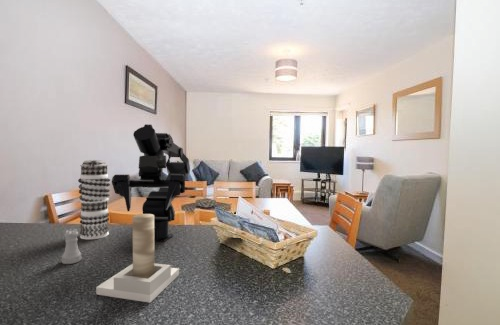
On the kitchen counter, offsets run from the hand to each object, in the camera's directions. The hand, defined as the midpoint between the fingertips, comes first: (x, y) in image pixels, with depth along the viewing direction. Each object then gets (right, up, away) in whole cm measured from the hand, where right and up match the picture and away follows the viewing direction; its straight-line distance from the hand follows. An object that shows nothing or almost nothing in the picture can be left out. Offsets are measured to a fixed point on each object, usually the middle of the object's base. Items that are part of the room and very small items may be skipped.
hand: (147, 210), depth 70 cm
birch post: (+4, -13, -13) cm, 19 cm away
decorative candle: (-25, -12, +21) cm, 35 cm away
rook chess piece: (-19, -13, 0) cm, 24 cm away
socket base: (+3, -14, -11) cm, 18 cm away
